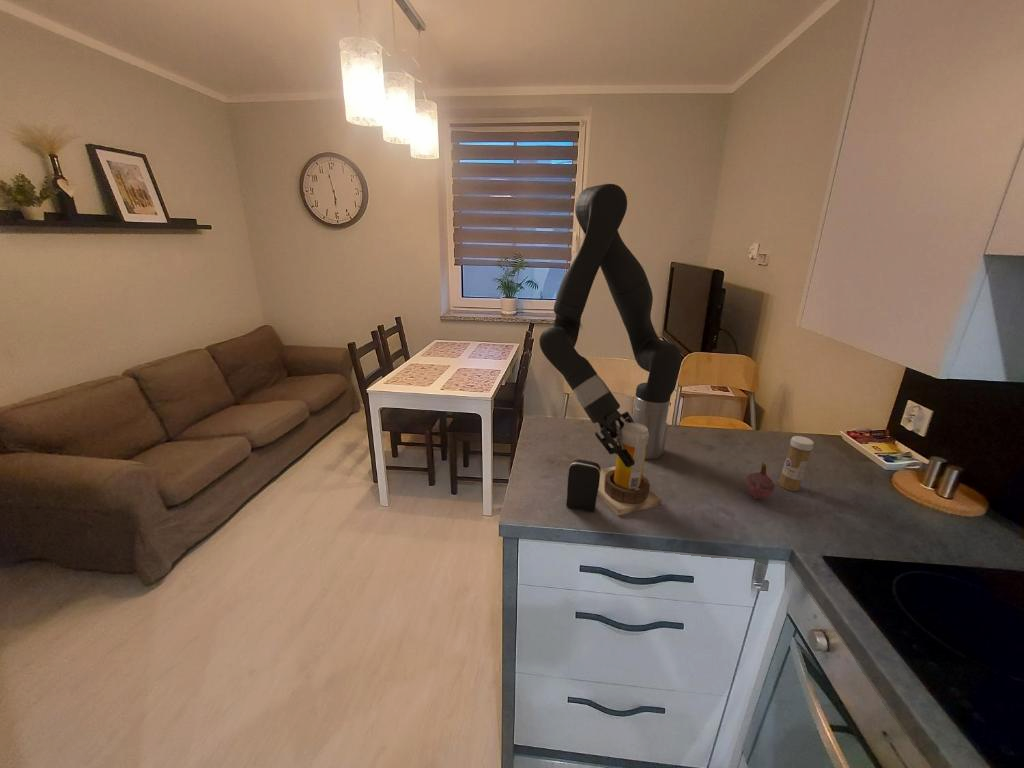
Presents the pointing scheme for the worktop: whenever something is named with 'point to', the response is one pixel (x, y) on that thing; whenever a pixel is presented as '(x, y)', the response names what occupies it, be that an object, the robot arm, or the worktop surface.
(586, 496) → the battery charger
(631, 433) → the beer can
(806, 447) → the sprinkles bottle
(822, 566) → the worktop surface
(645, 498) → the collar board
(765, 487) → the vegetable
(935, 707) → the worktop surface
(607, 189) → the robot arm
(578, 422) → the worktop surface
